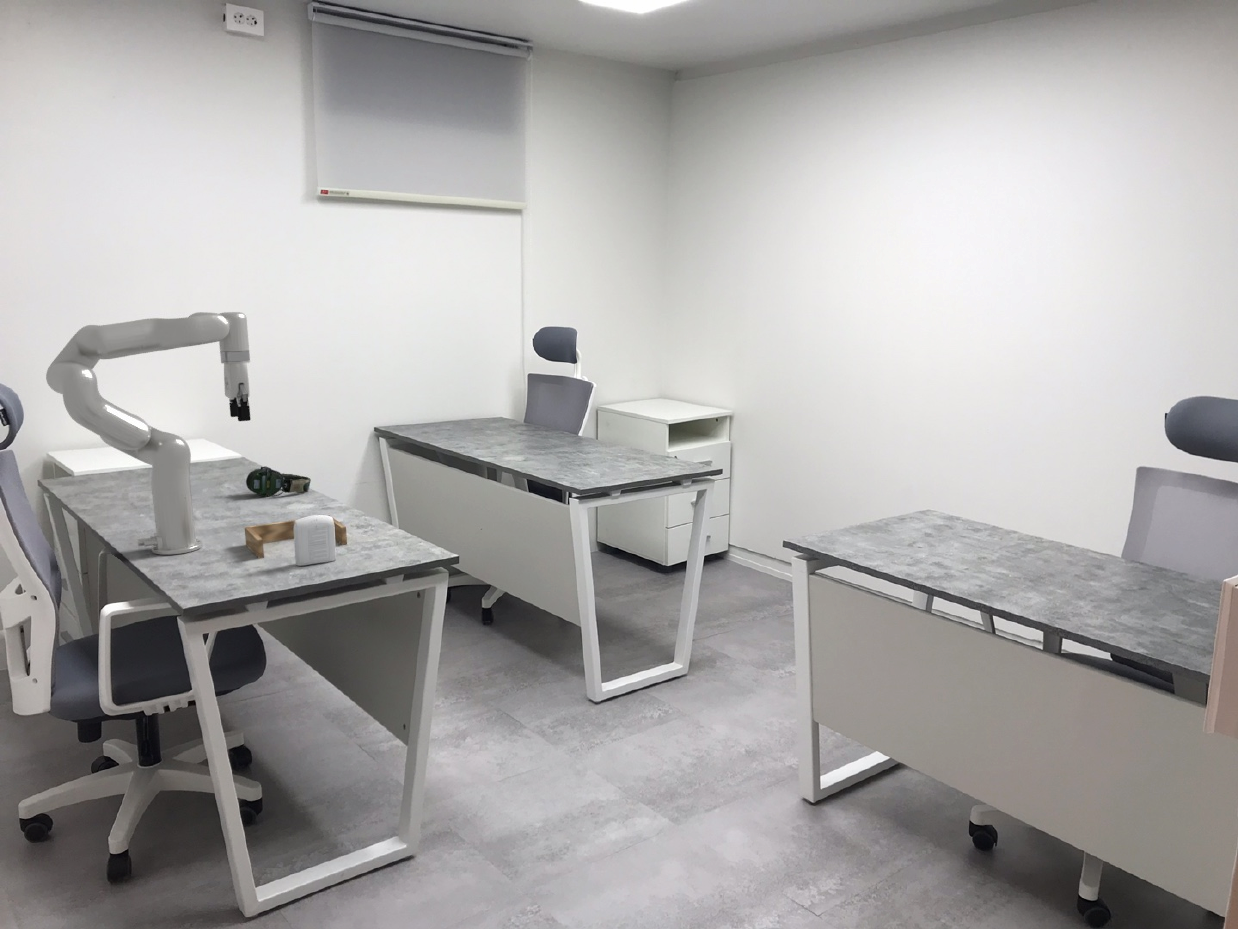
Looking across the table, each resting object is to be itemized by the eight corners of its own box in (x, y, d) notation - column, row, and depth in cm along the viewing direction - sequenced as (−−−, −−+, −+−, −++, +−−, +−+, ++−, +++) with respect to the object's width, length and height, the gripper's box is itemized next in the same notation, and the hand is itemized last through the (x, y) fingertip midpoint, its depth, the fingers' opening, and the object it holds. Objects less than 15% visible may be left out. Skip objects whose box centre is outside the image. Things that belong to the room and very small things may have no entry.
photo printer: (333, 557, 252) (330, 511, 249) (338, 561, 248) (335, 514, 246) (293, 563, 246) (290, 516, 244) (298, 567, 243) (294, 520, 240)
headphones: (260, 486, 311) (319, 486, 324) (251, 453, 317) (309, 455, 330) (247, 509, 319) (305, 509, 332) (239, 477, 325) (296, 478, 338)
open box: (259, 558, 251) (257, 540, 250) (246, 544, 264) (244, 527, 263) (347, 544, 263) (346, 526, 262) (330, 532, 276) (329, 515, 275)
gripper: (214, 355, 270) (220, 416, 273) (227, 360, 256) (232, 423, 259) (242, 354, 274) (247, 413, 277) (256, 358, 260) (261, 421, 263)
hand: (240, 418), depth 268 cm, fingers open, 9 cm apart
